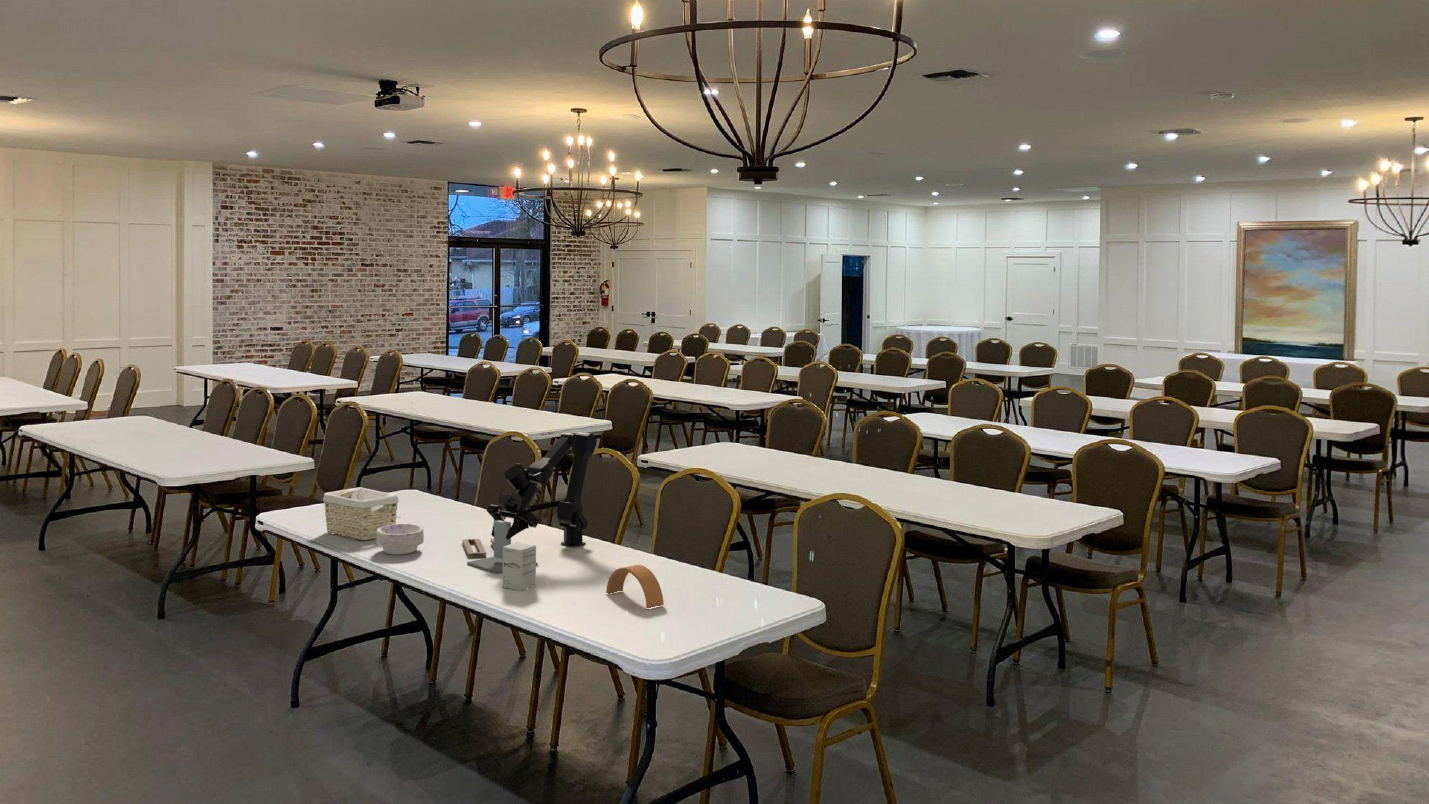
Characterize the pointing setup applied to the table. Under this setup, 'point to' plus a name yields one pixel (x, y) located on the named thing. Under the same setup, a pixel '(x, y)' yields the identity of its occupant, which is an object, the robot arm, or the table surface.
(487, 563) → the pad
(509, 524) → the tall grey pillar
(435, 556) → the table surface
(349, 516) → the storage basket
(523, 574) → the supplement box
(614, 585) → the arch
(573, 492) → the robot arm
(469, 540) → the frame
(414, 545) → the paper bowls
